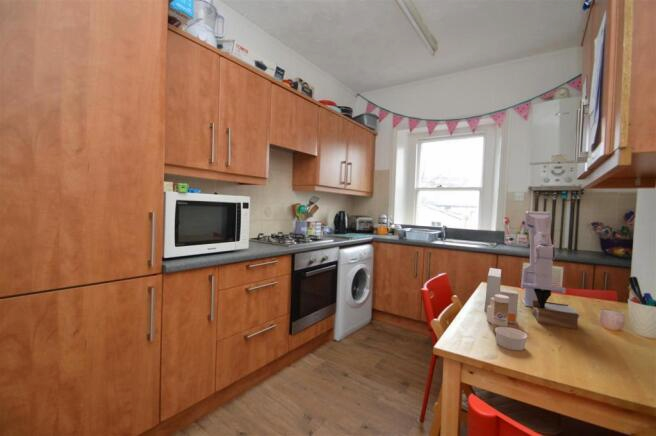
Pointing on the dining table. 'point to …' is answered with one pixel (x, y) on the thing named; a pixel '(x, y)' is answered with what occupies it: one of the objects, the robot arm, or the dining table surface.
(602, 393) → the dining table surface
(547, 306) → the lid
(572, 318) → the case
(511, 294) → the skincare box
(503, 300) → the sprinkles bottle
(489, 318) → the salt shaker
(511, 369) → the dining table surface
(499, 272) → the skincare box
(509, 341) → the ramekin
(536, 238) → the robot arm
